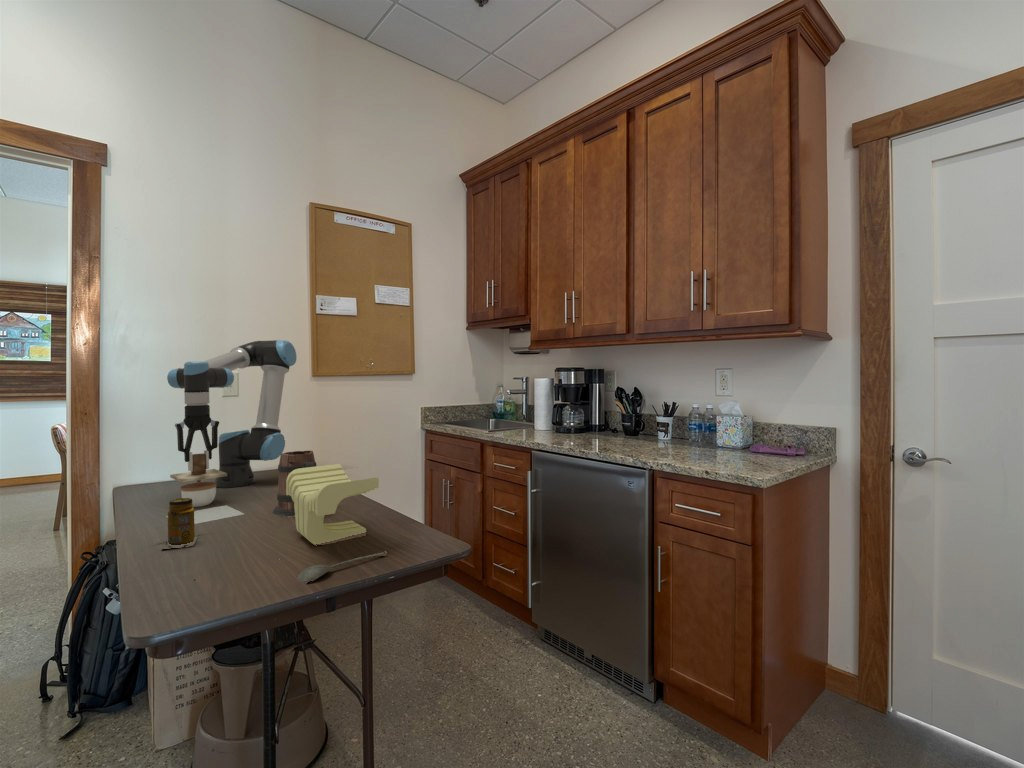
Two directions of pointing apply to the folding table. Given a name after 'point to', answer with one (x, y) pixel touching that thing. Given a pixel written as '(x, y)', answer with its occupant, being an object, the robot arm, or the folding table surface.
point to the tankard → (285, 467)
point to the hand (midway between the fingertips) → (198, 469)
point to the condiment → (181, 521)
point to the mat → (214, 514)
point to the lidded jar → (199, 492)
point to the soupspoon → (324, 569)
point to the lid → (198, 471)
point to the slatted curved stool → (324, 501)
